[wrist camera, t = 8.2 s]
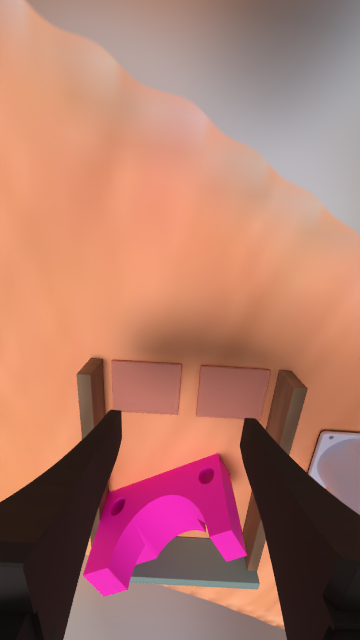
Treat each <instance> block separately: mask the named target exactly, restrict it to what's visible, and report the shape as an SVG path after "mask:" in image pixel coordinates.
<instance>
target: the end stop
mask: <svg viewBox="0 0 360 640" xmlns="http://www.w3.org/2000/svg"><path fill="white" fill-rule="evenodd" d="M129 583H146V584H165V585H184V586H203V587H222V588H241V589H258V587H259V584H260V583H259V579H258V575H257V572H253V571H247V568H246V563H245V558H244V557H241V558H237V559H234V560H230V561H227V562H226V561H225V559H224V558H223V556H222V555H221V553H220V552H219V550H218V549H217V547H216V546H215V544H214V543H213V541H212V540H211V539H207V538H189V537H174V538H173V539H172V540H171V541H170V542H169V543H167V545H166V546H165V547H164V548H163V549H162V551H161V552H160V553H159V555H158V556H157V558H156V559H153V560H150V561H147V562H143V563H140V564H137V565H135V567H134V570H133V572H132V576H131V579H130V582H129Z"/></svg>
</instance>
